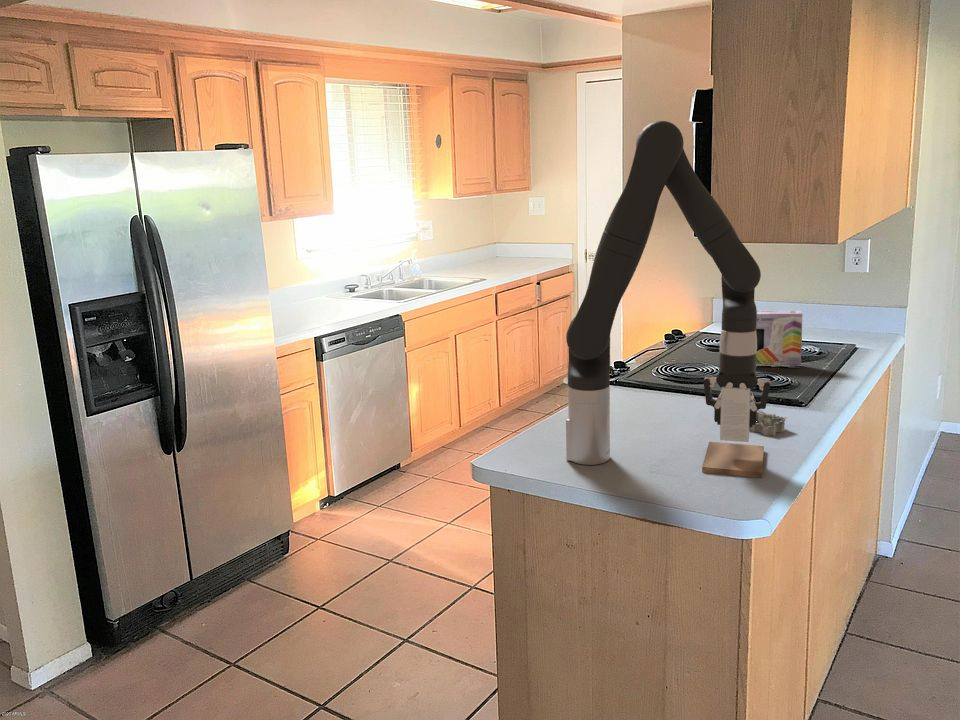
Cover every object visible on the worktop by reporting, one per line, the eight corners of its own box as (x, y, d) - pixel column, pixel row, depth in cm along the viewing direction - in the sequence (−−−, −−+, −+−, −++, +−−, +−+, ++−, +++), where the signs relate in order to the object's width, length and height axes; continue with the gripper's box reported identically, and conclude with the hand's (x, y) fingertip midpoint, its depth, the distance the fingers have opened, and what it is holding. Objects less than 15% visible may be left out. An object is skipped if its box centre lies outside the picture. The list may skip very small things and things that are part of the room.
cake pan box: (735, 367, 251) (737, 312, 247) (735, 363, 256) (737, 309, 251) (801, 369, 245) (804, 312, 241) (799, 365, 250) (802, 309, 246)
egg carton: (733, 427, 198) (733, 411, 197) (753, 420, 202) (754, 405, 201) (769, 438, 189) (769, 421, 188) (789, 431, 193) (790, 415, 192)
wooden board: (702, 472, 170) (702, 466, 170) (708, 446, 185) (709, 441, 185) (761, 477, 166) (761, 472, 166) (763, 451, 181) (764, 446, 180)
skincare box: (749, 436, 175) (751, 383, 172) (748, 442, 171) (750, 389, 168) (720, 434, 177) (722, 382, 174) (719, 440, 173) (720, 387, 170)
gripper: (701, 352, 168) (699, 428, 173) (773, 355, 163) (769, 433, 168) (704, 344, 175) (702, 417, 179) (774, 347, 170) (770, 422, 174)
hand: (735, 424), depth 173 cm, fingers closed on skincare box, 6 cm apart
